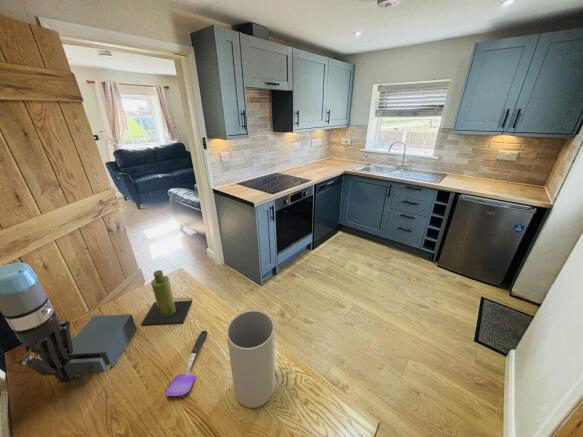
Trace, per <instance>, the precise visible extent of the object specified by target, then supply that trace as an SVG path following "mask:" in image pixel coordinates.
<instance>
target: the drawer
mask: <svg viewBox="0 0 583 437" xmlns="http://www.w3.org/2000/svg"><path fill="white" fill-rule="evenodd" d="M69 357H72V359H71V361H70V363H71V370H72V372H73V373H74V374H78V375H75V378H74V379H73V381H72V382H85V380H86V379H87V375H88V374H89V373H100V372H101V373H103V372H105V371H106V369H107V366H106V365H108V362H107V360H106V358H105V356H104V354H95V355H79V356H69ZM79 374H80V375H79ZM81 374H82V375H81ZM56 381H57V383H62V382H61V381H60V379H59V378H57V380H56Z"/></svg>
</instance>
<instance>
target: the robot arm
mask: <svg viewBox="0 0 583 437" xmlns="http://www.w3.org/2000/svg"><path fill="white" fill-rule="evenodd" d="M0 312H1V314H2V315H3V317H4V319H5V320H6V322H7V323H8V325H9V327H10V328H11V330H12V331H13V333H14V334H15V336H16V338H17V339H18V340H19V342H20V343H22V344H23V345H24V351H25V352H26V354H25V356H24V358H21V359H20V360H18V366H26V367H28V368H30V369H31V370H33V371H34V372H36V373H37V374H39V375H40V376H42V377H46V376H47V377H48V376H49V377H50V376H54V378H55V379H58V378H59V379H60V381H61V382H60V383H72V382H74V381H73V379H74V378H75V376H76V375H75V373H73V372H72V370H71V363H70V361H71V359H72V357H69V355H70V354H72V352H73V347H72V341H71V336H72V335H71V331H70V326H71V322H70V321H68V320H67V321H66V320H65V321H60V318H59V317H58V315H57V313H56V312H55V310H54V307H53V306H52V304H51V302H50V300H49V298H48V296H47V294H46V291H45V290H44V287H43V286H42V284H41V282H40V280H39V276H38V275H37V273H36V272H35V271H34V269H33V268H32V267H31V265H30V264H28V263H26V262H14V263H6V264H3V265H1V266H0ZM37 355H38V356H37ZM39 355H40V356H41V358H42V360H43V361H44V362H43V361H42V360H40V359H37V358H38V357H39Z"/></svg>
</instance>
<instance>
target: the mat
mask: <svg viewBox="0 0 583 437" xmlns="http://www.w3.org/2000/svg"><path fill="white" fill-rule="evenodd" d="M174 302H175V307H176V311H175V313H174V314H173V315H171V316H169V317H161V316H160V314H159V310H158V307H157V303H156V301H154V302H153V304H152V305H151V307H150V309H149V310H148V312H147V313H146V315H145V317H144V318H143V320H142V322H141V323H140V326H141V327H148V326H166V325H167V326H168V325H183V324H184V323H185V321H186V318H187V316H188V313H189V310H190V308H191V306H192V304H191V303H193V300H174Z"/></svg>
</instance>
